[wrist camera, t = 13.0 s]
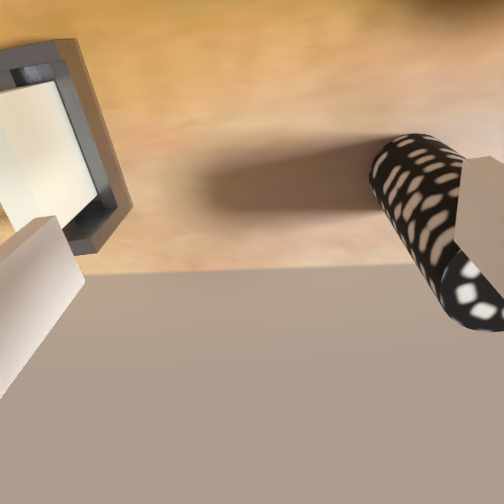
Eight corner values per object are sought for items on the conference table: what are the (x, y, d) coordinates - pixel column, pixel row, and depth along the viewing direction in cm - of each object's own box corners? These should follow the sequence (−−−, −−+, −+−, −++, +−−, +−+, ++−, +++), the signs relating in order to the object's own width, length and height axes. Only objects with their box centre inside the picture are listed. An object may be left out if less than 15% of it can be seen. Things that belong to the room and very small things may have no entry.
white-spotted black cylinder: (381, 220, 44) (452, 346, 26) (359, 153, 40) (426, 249, 23) (457, 192, 42) (589, 308, 24) (441, 119, 38) (583, 196, 21)
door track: (9, 51, 36) (-79, 59, 27) (76, 38, 36) (9, 42, 27) (77, 213, 45) (28, 261, 36) (133, 206, 44) (97, 253, 35)
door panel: (35, 83, 37) (-55, 104, 27) (67, 77, 37) (-12, 97, 27) (78, 189, 43) (17, 241, 32) (107, 185, 42) (53, 236, 32)
